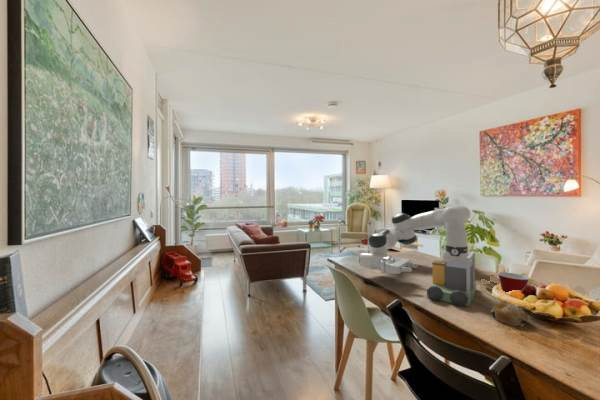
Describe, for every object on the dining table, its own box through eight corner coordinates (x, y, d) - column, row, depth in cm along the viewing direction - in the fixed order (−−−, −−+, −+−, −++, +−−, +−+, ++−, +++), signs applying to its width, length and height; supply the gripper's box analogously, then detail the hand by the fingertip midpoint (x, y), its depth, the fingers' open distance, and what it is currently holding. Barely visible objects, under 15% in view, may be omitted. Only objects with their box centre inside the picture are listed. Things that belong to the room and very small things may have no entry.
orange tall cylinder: (435, 288, 131) (434, 260, 131) (446, 290, 128) (446, 261, 128) (432, 291, 127) (432, 262, 127) (444, 294, 124) (444, 263, 124)
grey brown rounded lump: (511, 337, 93) (523, 321, 90) (483, 314, 101) (493, 298, 98) (525, 330, 97) (537, 314, 94) (497, 309, 105) (507, 293, 102)
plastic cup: (533, 303, 112) (533, 275, 112) (524, 310, 106) (524, 280, 106) (503, 295, 121) (503, 269, 121) (492, 301, 115) (492, 273, 115)
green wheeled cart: (440, 282, 140) (440, 245, 140) (476, 288, 130) (476, 249, 130) (425, 298, 118) (425, 255, 118) (468, 308, 108) (468, 260, 108)
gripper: (394, 265, 151) (420, 269, 143) (379, 273, 135) (408, 279, 127) (394, 254, 151) (420, 257, 142) (379, 261, 135) (408, 265, 127)
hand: (414, 267), depth 134 cm, fingers open, 8 cm apart
